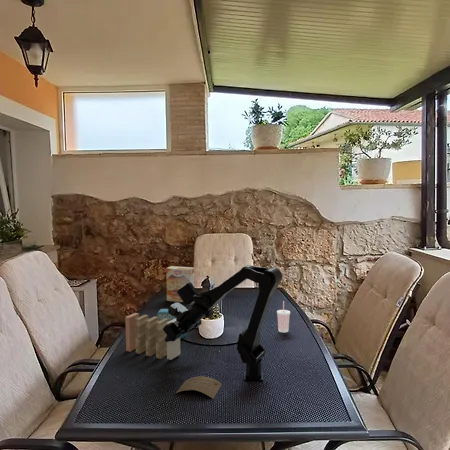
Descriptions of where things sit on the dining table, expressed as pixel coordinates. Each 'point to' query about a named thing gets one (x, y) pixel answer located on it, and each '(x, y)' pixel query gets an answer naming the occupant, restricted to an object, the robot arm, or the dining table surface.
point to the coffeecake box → (178, 280)
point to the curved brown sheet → (201, 385)
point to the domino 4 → (173, 345)
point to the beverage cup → (283, 320)
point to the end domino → (130, 331)
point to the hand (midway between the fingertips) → (170, 338)
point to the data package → (164, 314)
